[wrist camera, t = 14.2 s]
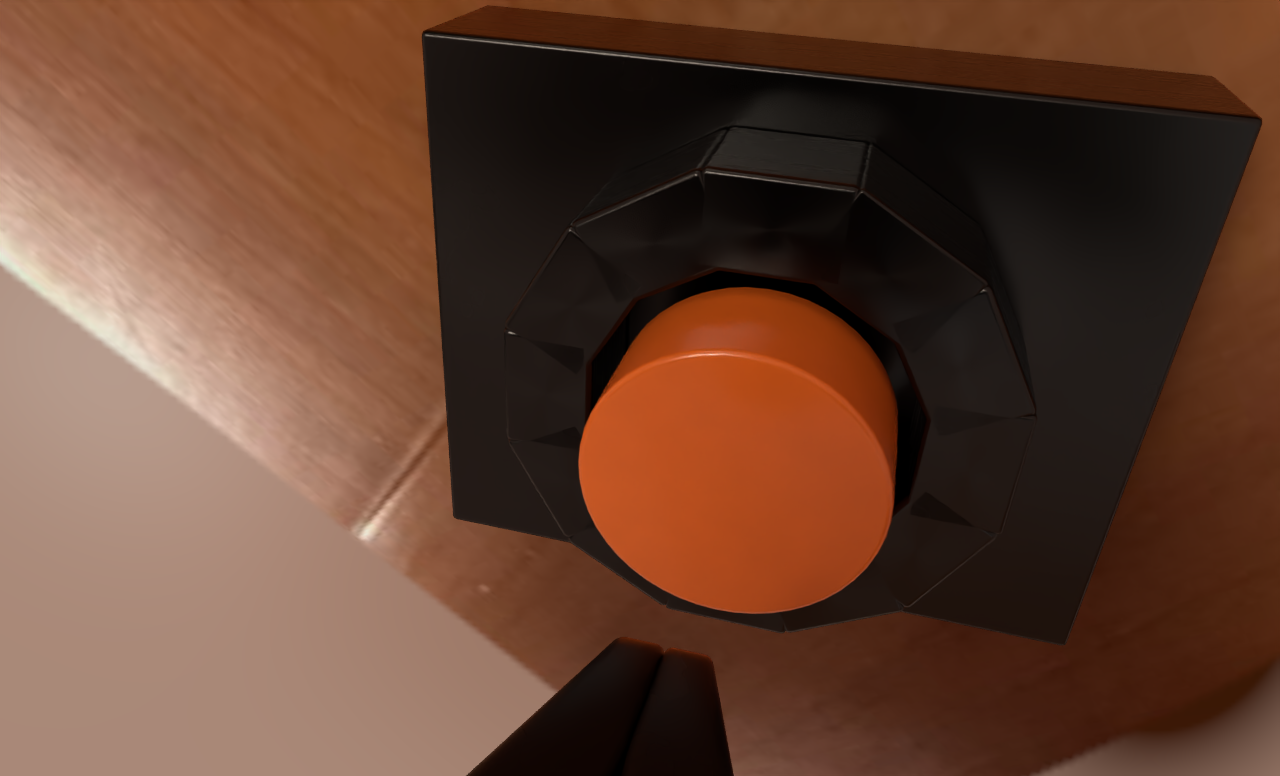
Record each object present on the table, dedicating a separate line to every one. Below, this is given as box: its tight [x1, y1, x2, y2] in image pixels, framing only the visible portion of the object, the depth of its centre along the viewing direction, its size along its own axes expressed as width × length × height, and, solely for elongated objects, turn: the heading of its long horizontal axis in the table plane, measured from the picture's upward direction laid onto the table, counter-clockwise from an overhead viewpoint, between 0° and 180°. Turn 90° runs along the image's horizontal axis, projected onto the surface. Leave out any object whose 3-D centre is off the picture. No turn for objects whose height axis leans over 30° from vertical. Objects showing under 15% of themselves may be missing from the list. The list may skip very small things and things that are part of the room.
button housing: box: [422, 6, 1262, 645], centre depth 14 cm, size 10×8×4 cm
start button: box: [578, 287, 898, 614], centre depth 12 cm, size 4×4×2 cm
